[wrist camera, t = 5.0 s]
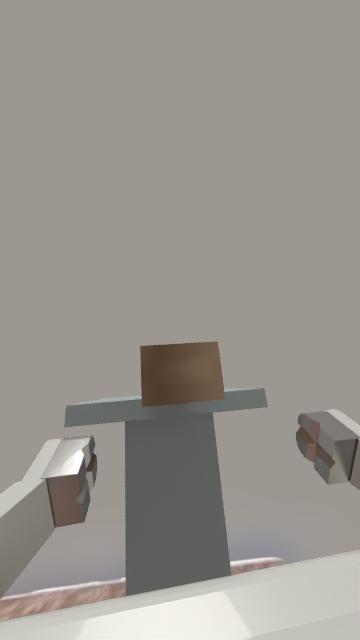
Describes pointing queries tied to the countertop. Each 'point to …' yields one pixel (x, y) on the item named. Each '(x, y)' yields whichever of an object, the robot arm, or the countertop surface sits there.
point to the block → (181, 373)
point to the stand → (170, 486)
